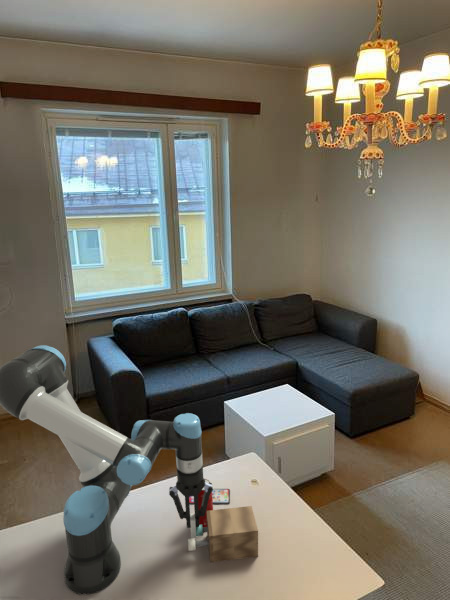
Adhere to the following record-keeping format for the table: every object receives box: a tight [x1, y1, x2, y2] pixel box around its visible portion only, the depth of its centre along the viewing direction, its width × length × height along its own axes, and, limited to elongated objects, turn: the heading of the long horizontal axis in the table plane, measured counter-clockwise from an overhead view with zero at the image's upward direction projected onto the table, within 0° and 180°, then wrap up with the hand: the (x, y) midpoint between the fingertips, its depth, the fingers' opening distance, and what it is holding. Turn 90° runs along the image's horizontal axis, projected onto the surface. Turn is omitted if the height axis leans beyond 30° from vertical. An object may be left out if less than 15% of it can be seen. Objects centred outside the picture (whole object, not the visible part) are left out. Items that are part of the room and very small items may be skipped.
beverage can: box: [198, 478, 214, 527], centre depth 135 cm, size 6×6×15 cm
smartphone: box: [189, 488, 231, 506], centre depth 148 cm, size 8×1×15 cm
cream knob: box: [187, 538, 209, 552], centre depth 123 cm, size 8×3×3 cm, turn 97°
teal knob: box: [196, 524, 208, 537], centre depth 128 cm, size 8×3×3 cm, turn 97°
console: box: [206, 505, 259, 563], centre depth 126 cm, size 14×10×9 cm
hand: (193, 535), depth 128 cm, fingers closed
